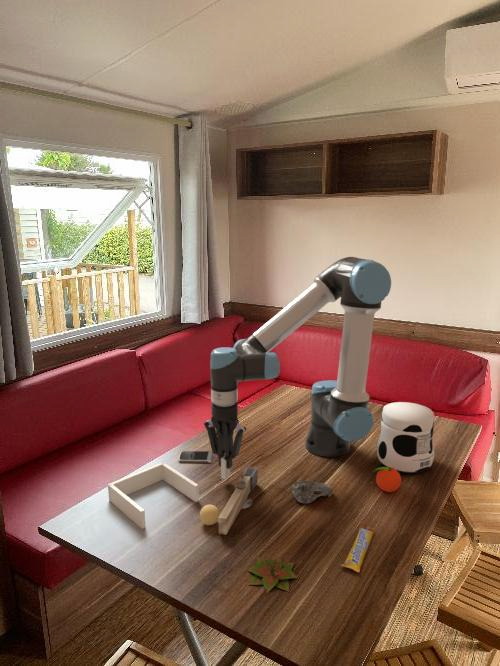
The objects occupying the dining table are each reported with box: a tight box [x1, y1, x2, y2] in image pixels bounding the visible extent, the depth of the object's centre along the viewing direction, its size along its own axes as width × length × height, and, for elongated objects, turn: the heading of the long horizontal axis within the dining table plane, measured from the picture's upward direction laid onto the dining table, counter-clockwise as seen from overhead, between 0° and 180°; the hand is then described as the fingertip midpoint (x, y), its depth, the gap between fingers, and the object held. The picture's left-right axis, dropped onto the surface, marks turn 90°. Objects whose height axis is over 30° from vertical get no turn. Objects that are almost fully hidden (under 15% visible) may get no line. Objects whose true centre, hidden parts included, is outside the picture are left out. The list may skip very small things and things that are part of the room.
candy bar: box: [340, 525, 375, 573], centre depth 116 cm, size 17×4×2 cm, turn 153°
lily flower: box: [247, 554, 299, 594], centre depth 108 cm, size 12×12×5 cm
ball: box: [199, 504, 220, 526], centre depth 126 cm, size 5×5×5 cm
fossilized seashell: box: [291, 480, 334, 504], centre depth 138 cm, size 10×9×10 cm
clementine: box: [373, 466, 402, 493], centre depth 140 cm, size 8×7×7 cm
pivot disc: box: [240, 496, 253, 510], centre depth 135 cm, size 6×6×1 cm
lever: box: [218, 466, 258, 536], centre depth 132 cm, size 3×26×5 cm, turn 163°
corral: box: [107, 461, 200, 530], centre depth 136 cm, size 18×18×5 cm
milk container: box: [376, 401, 435, 474], centre depth 153 cm, size 17×17×18 cm
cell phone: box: [177, 450, 215, 464], centre depth 160 cm, size 6×11×1 cm, turn 88°
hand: (225, 476), depth 145 cm, fingers closed
